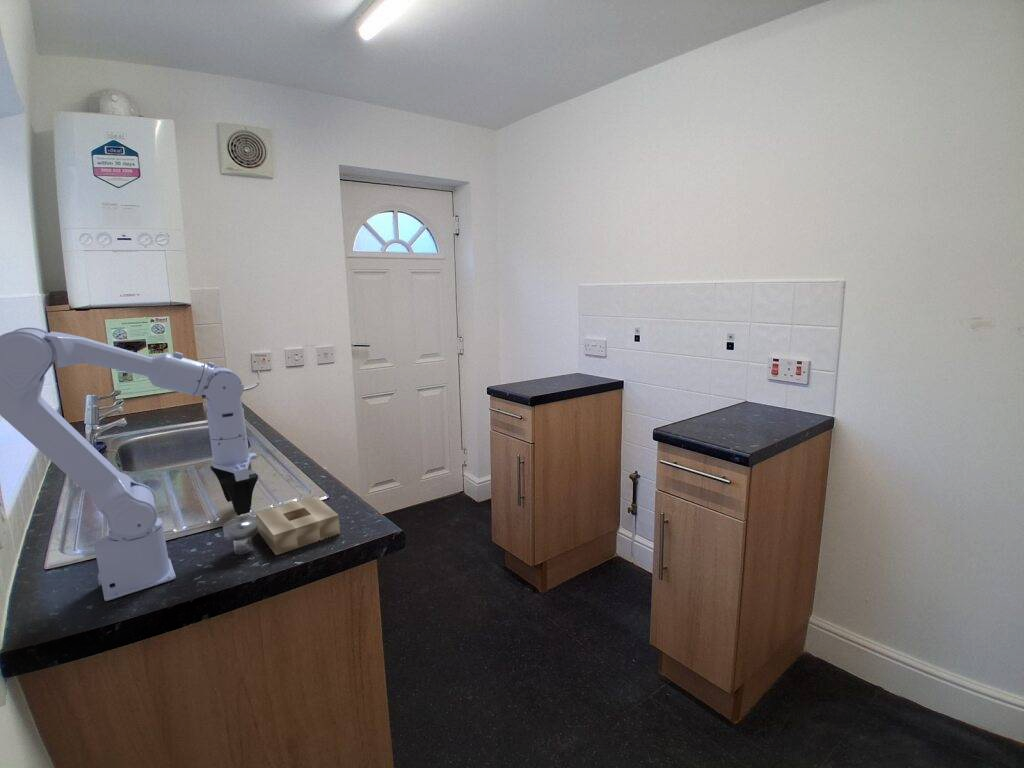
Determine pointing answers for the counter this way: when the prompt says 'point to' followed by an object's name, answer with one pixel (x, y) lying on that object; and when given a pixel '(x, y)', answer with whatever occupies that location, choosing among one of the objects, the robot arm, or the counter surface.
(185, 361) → the robot arm
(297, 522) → the block
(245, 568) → the counter surface
